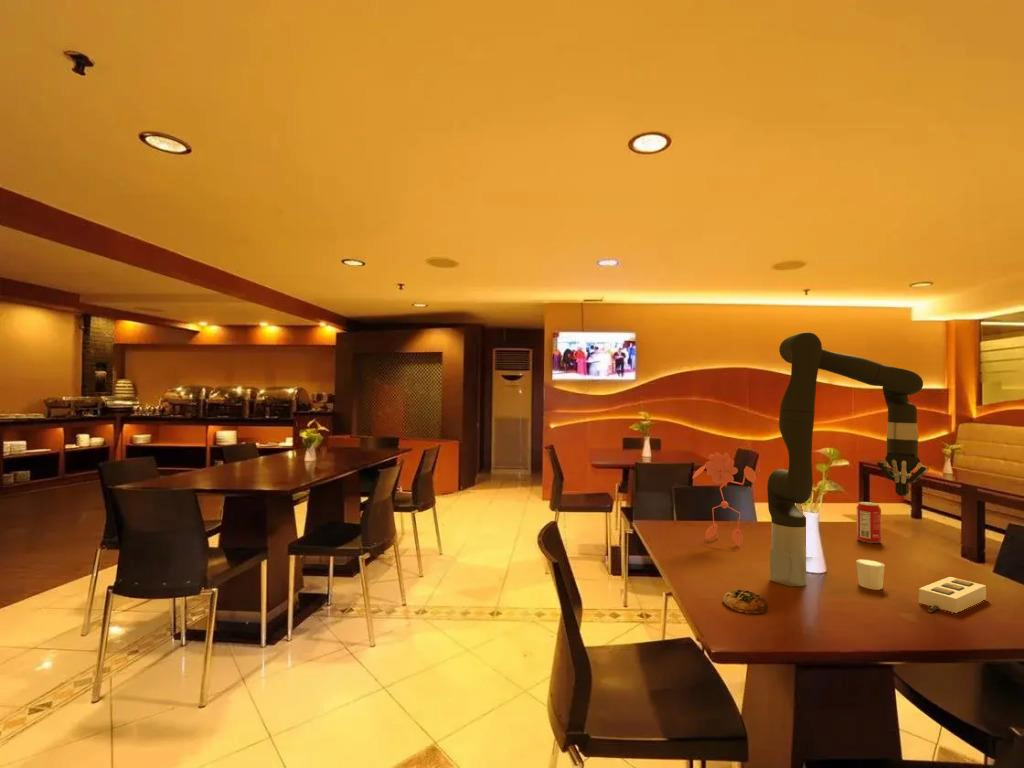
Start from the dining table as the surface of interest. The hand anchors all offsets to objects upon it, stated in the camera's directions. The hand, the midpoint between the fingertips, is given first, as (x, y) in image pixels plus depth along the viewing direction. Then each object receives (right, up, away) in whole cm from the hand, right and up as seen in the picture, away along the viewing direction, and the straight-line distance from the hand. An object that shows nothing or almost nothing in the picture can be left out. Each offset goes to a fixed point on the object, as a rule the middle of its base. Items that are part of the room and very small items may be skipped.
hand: (902, 495), depth 151 cm
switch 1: (-2, -24, -17) cm, 29 cm away
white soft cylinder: (-11, -27, -2) cm, 29 cm away
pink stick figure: (-38, -28, +40) cm, 62 cm away
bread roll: (-56, -26, -18) cm, 64 cm away
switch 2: (+9, -24, -10) cm, 28 cm away
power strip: (+2, -26, -14) cm, 30 cm away
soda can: (+24, -29, +47) cm, 60 cm away
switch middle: (+4, -24, -13) cm, 28 cm away
